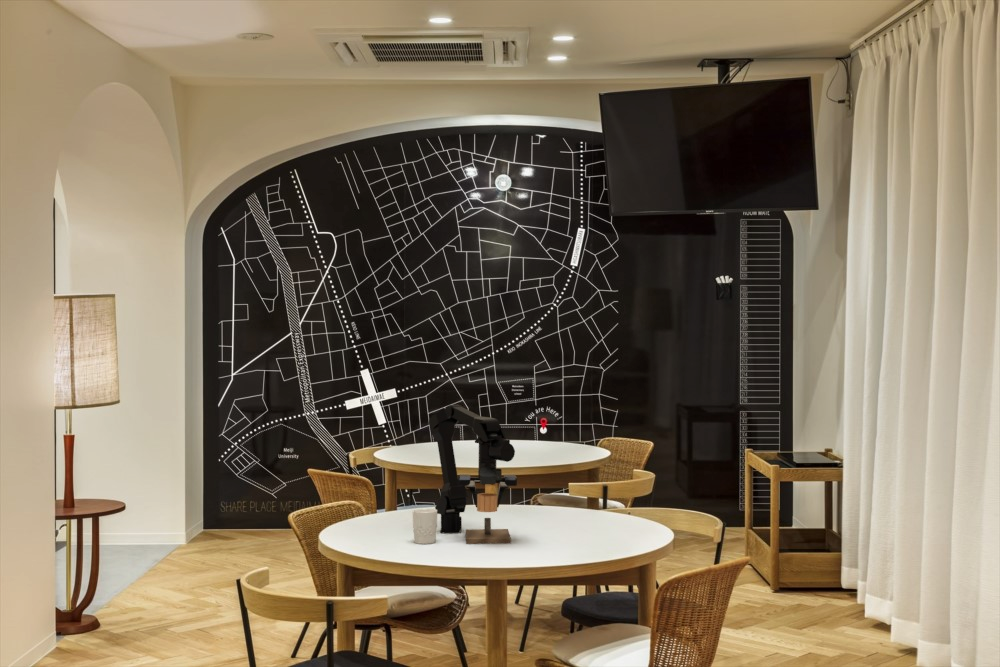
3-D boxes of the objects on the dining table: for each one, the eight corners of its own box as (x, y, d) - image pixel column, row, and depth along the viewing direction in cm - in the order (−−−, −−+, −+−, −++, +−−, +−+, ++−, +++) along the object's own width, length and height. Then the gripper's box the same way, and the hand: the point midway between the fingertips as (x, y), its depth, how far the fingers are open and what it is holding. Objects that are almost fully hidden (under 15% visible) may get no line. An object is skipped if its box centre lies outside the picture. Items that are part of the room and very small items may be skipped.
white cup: (408, 543, 303) (408, 511, 303) (419, 538, 311) (418, 507, 311) (431, 545, 301) (431, 513, 301) (441, 540, 308) (441, 509, 308)
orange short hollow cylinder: (477, 512, 304) (477, 496, 304) (476, 508, 311) (477, 492, 311) (497, 512, 304) (497, 496, 304) (496, 508, 311) (496, 493, 311)
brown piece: (466, 543, 302) (466, 523, 302) (465, 534, 318) (465, 514, 318) (510, 543, 303) (510, 522, 303) (507, 533, 319) (507, 513, 319)
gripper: (457, 461, 299) (457, 511, 299) (518, 461, 300) (517, 512, 300) (458, 456, 310) (457, 505, 310) (516, 457, 311) (515, 505, 311)
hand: (487, 507), depth 308 cm, fingers closed on orange short hollow cylinder, 6 cm apart
